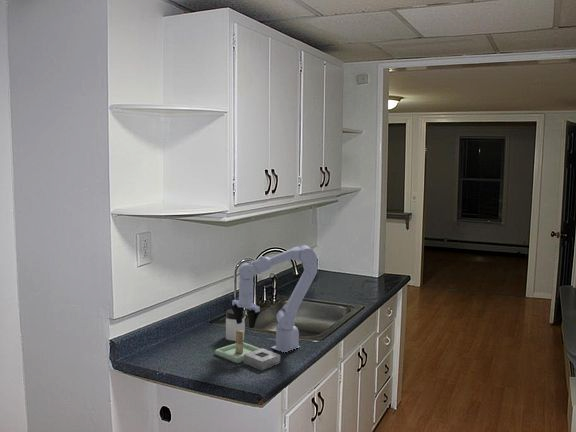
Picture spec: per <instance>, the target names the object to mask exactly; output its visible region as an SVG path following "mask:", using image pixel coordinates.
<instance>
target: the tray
mask: <svg viewBox="0 0 576 432" xmlns="http://www.w3.org/2000/svg"><path fill="white" fill-rule="evenodd" d="M235 348H236V342H235V343H232V344H229V345H225V346H223V347H219V348H217V349H215V351H214V352H215V353H214V354H215V355H216V356H218V357H220V358H222V359H225V360H228V361H230V362H232V363H235V364H239V363H242V362H243V363H244V354H247V353H250V352H252V351H255V350H258V349H261V348H260V347H257V346H255V345H252V344H249V343H246V342H244V341H243V354H236V353H235Z"/></svg>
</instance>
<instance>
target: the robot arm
mask: <svg viewBox="0 0 576 432" xmlns="http://www.w3.org/2000/svg"><path fill="white" fill-rule="evenodd" d="M290 260H293V261H297V262H301V265H302V267H303V272H302V274H301V275H300V278H299V280H298V281H297V283H296V285H295V287H294V289H293V291H292V292H291V295H289V298H288V300H287V302H286V303H285V304H284V305H283V306H282V308H281V309H280V310H278V312H277V313H276V316H275V318H276V320H277V322H278V323H277V325H276V329H275V331H276V332H275V345H273V346H271V349H273V350H276V351H278V352H280V351H281V353H283V352H284V353H283V354H286V353H285V352H287V353H289V352H288V351H290V350H292V351H294V350H293V349H295V350H297V349H296V348H298V349H300V348H301V346H300V345H299V343H300V340H299V339H300V332H299V329H298V327H297V326H296V325H295V320H296V317H297V314H298V309H299V308H300V305H301V303H302V302H303V300H304V298H305V296H306V294H307V292H308V291H309V288H310V287H311V285H312V283H313V281H314V279H315V277H316V275H317V273H318V257H317V254H316V251H314V250H313V249H312V248H311V247H310V246H309V245H307V244H301V245H299V246H294V247H292V248H289V249H288V250H286V251H282V252H280V253H278V254H276V255H274V256H271V257H269V256H267V255H266V256H263V255H261V256H259V258H257V259H254V260H249V261H248V262H243V263H242V264H240V266H239V268H238V274H239V278H238V279H239V282H238V299H233V300H232V301H231V302H232V303H231V304H232V306H231V309H232V310H233V312H234V315H235V318H236V322H237V324H240V323H242V315H243V310H244V311H245V310H249V311H246V314H247V318H248V327H249V329H254V328H255V327H256V326H255V325H256V323H257V319H258V317H259V315H260V314H261V307H260V306H259V305H256V304H255V303H254V277H255V276H257V275H260V274H262V273H266V272H267V271H270V270H271V269H272V267H273V266H276V265H278V264H281V263H284V262H288V261H290ZM299 347H300V348H299ZM290 352H291V351H290Z"/></svg>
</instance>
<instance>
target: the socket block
mask: <svg viewBox="0 0 576 432" xmlns="http://www.w3.org/2000/svg"><path fill="white" fill-rule="evenodd" d="M279 363H280V364H281V354H279V353H277V352H273V351H271V350H268V349H267V348H263V347H262V348H260V349H258V350H255V351H252V352H250V353H247V354H244V361H243V364H244V365H247V366H249V367H252V368H254V369H256V370H259V371H265V370H267V369H270V368H272V366H273V367H275V366H277V364H278V365H280V364H279ZM274 365H275V366H274Z"/></svg>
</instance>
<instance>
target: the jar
mask: <svg viewBox="0 0 576 432" xmlns="http://www.w3.org/2000/svg"><path fill="white" fill-rule="evenodd" d="M245 317H246V311H245V309H244V310H243V315H242V323H240V324H237V322H236V318H235V315H234V312H233V310H232V308H230V309H227V310H226V311H225V340H228V341H230V342H231V341H232V342H236V331H237V330H242V331H243V341H244V340H245V330H246V326H245V325H246V323H245Z"/></svg>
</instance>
